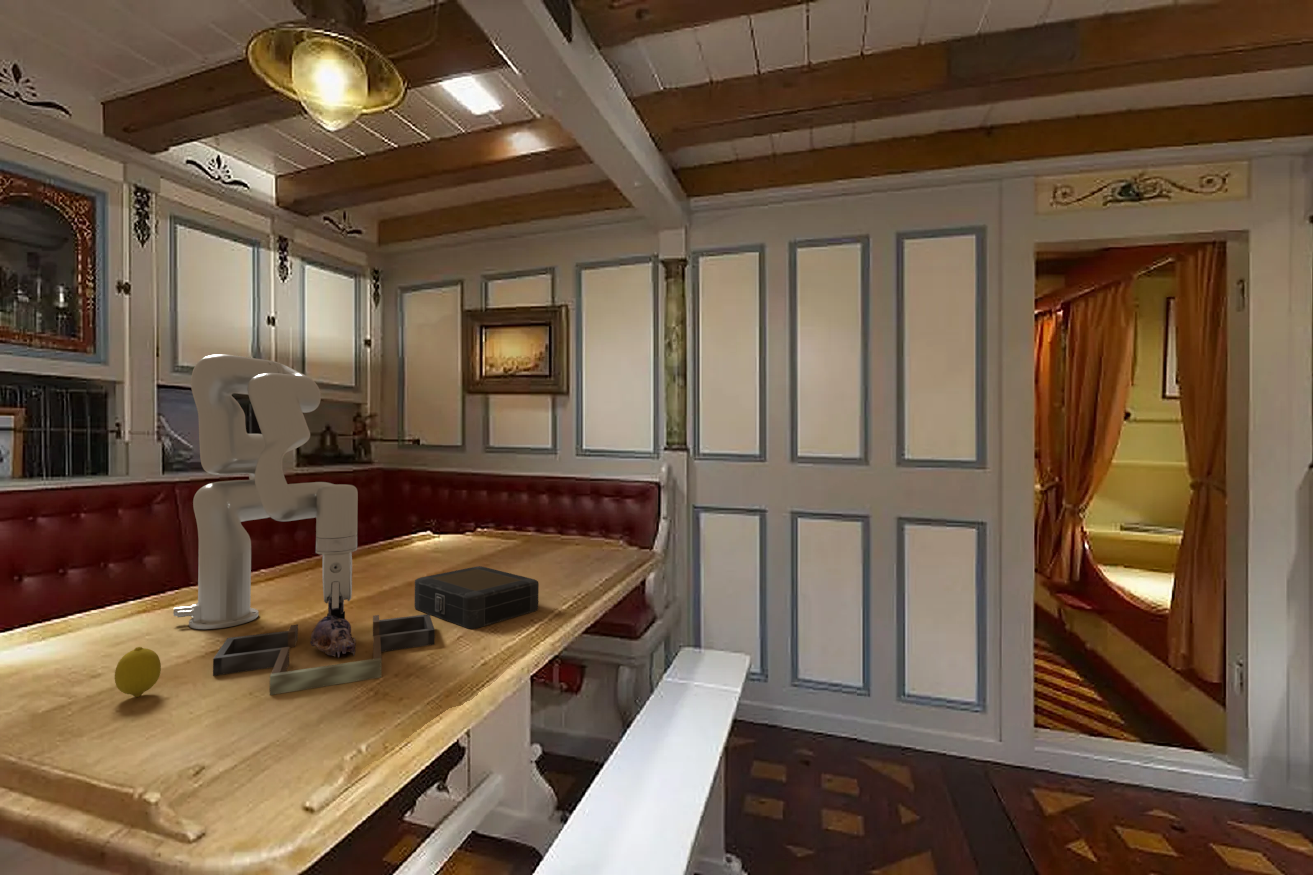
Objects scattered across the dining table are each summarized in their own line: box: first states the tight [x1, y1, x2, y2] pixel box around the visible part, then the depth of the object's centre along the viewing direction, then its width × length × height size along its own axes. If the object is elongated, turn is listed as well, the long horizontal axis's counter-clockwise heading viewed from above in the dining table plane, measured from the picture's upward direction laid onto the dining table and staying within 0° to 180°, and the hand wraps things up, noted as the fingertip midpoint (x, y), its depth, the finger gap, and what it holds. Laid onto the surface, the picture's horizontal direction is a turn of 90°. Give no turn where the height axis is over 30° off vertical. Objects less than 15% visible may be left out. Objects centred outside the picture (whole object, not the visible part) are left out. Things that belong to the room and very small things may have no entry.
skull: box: [310, 615, 357, 659], centre depth 112 cm, size 12×8×6 cm, turn 41°
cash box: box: [414, 565, 540, 630], centre depth 141 cm, size 25×20×8 cm
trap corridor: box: [212, 613, 436, 696], centre depth 110 cm, size 36×28×3 cm
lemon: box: [114, 646, 162, 698], centre depth 92 cm, size 6×6×8 cm
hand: (335, 632), depth 119 cm, fingers closed
